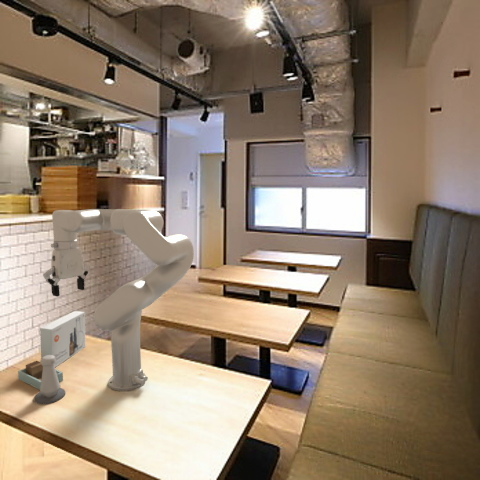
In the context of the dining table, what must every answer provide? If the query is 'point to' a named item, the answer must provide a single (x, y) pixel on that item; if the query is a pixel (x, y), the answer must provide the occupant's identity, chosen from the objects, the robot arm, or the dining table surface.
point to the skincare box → (63, 337)
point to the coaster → (43, 400)
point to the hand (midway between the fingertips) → (68, 292)
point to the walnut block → (34, 369)
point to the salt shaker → (49, 377)
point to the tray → (34, 381)
